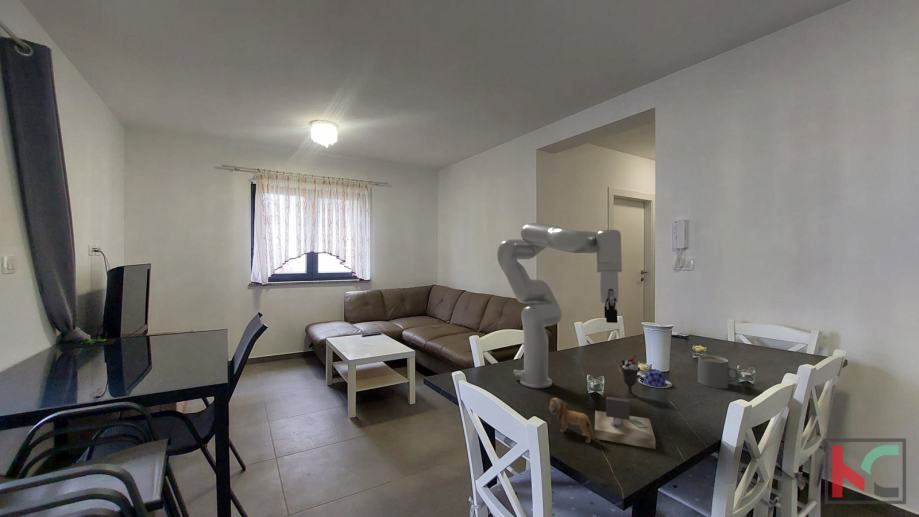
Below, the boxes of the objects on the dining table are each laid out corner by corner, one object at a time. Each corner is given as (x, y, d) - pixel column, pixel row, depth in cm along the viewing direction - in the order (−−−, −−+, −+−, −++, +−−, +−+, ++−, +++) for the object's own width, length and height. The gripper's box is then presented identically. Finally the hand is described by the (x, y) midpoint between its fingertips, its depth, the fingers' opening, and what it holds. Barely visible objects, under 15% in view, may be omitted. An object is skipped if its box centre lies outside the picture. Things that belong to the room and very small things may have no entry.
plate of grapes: (640, 387, 139) (640, 374, 139) (635, 377, 151) (635, 365, 151) (675, 391, 136) (675, 377, 136) (667, 380, 147) (667, 367, 147)
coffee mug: (694, 383, 143) (694, 358, 143) (702, 377, 150) (702, 353, 150) (735, 393, 133) (735, 366, 133) (742, 386, 140) (742, 361, 139)
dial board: (594, 438, 100) (594, 428, 100) (595, 418, 113) (595, 409, 113) (655, 449, 95) (655, 438, 95) (649, 427, 107) (649, 417, 107)
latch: (629, 427, 101) (629, 402, 101) (606, 424, 103) (606, 399, 103) (627, 415, 109) (627, 391, 109) (605, 412, 111) (605, 388, 111)
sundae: (642, 399, 127) (642, 357, 127) (622, 398, 129) (622, 356, 128) (637, 392, 134) (637, 352, 134) (618, 391, 135) (618, 351, 135)
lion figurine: (545, 429, 106) (545, 399, 106) (553, 423, 110) (553, 393, 110) (596, 446, 96) (596, 413, 96) (603, 438, 100) (603, 406, 100)
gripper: (596, 267, 127) (597, 316, 127) (598, 268, 111) (599, 324, 111) (619, 267, 125) (620, 316, 125) (624, 268, 108) (626, 325, 108)
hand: (610, 320), depth 118 cm, fingers open, 9 cm apart
